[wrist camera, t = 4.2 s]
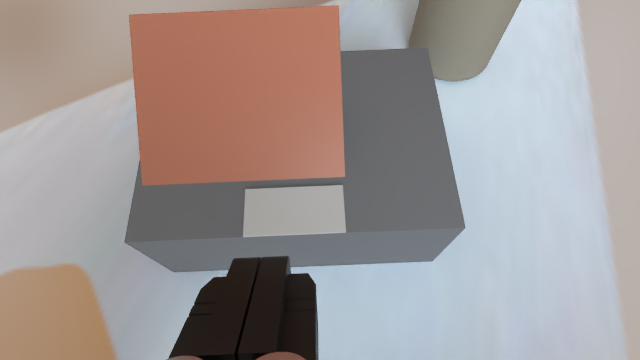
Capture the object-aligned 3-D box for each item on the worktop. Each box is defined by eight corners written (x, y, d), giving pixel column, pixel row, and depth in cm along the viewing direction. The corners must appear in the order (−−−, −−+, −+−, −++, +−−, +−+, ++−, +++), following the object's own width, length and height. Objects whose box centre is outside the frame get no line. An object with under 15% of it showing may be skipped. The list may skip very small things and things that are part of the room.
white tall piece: (258, 162, 24) (142, 185, 8) (255, 104, 24) (128, 15, 8) (328, 159, 24) (344, 176, 8) (326, 101, 24) (338, 5, 8)
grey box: (173, 272, 30) (101, 228, 20) (192, 120, 36) (144, 33, 26) (432, 261, 30) (480, 212, 20) (407, 111, 36) (435, 20, 26)
